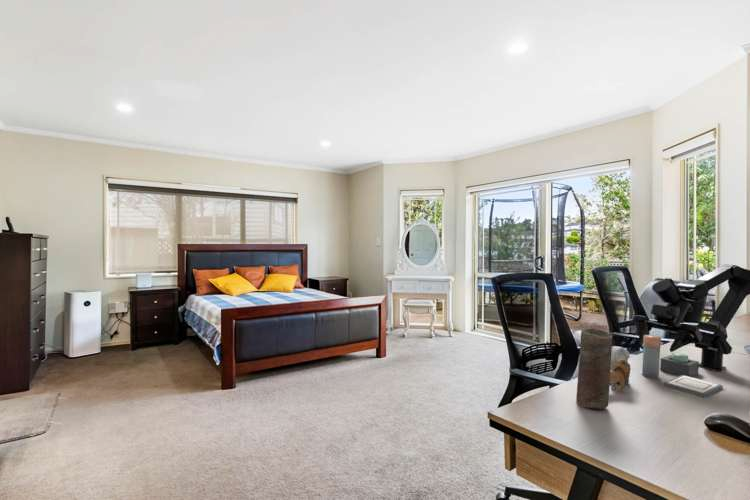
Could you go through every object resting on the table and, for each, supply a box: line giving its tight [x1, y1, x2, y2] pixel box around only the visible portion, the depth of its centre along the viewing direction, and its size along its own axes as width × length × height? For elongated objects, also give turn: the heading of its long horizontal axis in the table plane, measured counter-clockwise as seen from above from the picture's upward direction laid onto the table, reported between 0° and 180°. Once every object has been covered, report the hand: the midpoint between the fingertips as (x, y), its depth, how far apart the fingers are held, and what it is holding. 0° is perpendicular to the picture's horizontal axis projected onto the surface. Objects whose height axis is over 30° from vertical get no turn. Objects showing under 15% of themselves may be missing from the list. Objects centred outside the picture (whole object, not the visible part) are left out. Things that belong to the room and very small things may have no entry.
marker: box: [641, 334, 662, 379], centre depth 124 cm, size 5×5×13 cm
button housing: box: [659, 354, 700, 377], centre depth 129 cm, size 8×8×4 cm
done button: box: [671, 352, 689, 363], centre depth 129 cm, size 4×4×3 cm
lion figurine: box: [610, 359, 631, 394], centre depth 110 cm, size 15×5×9 cm, turn 111°
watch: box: [610, 345, 631, 386], centre depth 118 cm, size 6×8×11 cm
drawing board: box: [663, 375, 724, 398], centre depth 115 cm, size 14×10×1 cm
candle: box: [575, 328, 613, 410], centre depth 100 cm, size 8×7×20 cm
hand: (654, 347), depth 125 cm, fingers open, 9 cm apart
